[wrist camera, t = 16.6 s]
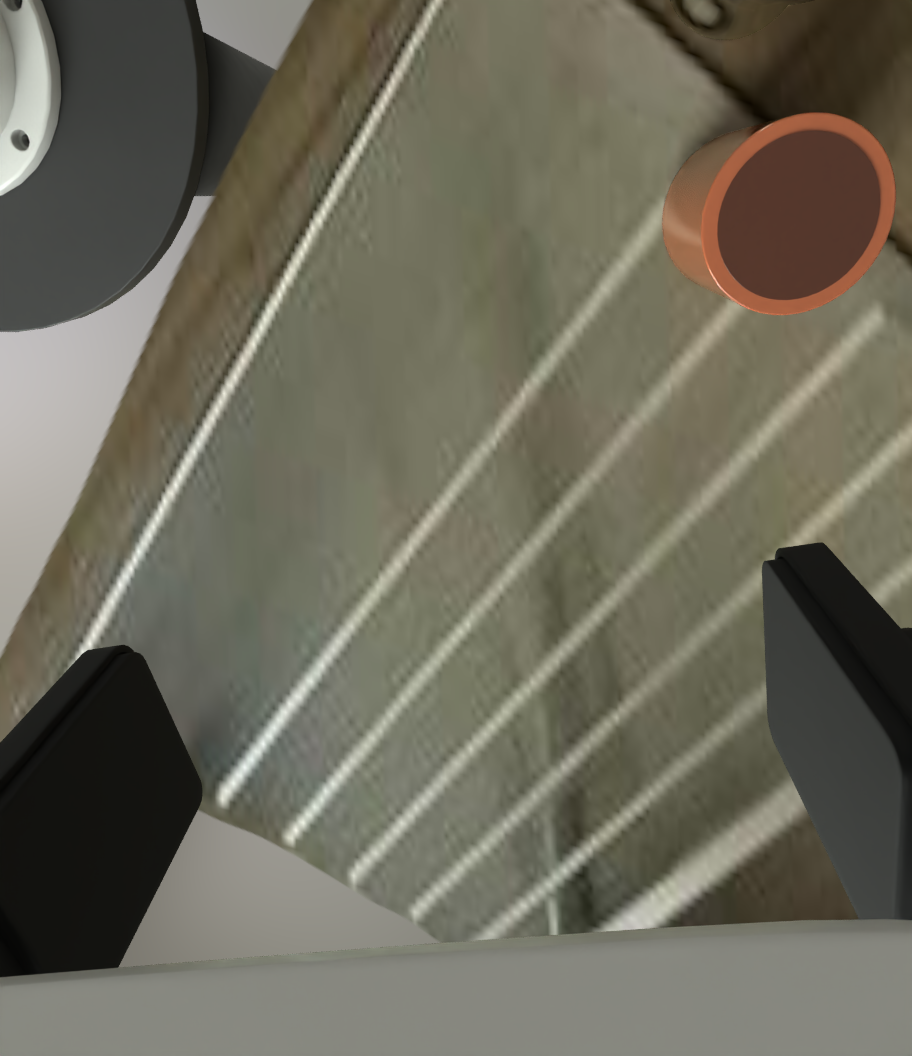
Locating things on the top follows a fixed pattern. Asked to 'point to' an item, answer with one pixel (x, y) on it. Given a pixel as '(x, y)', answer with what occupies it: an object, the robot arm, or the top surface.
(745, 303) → the terracotta cup
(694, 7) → the beer glass
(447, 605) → the top surface
